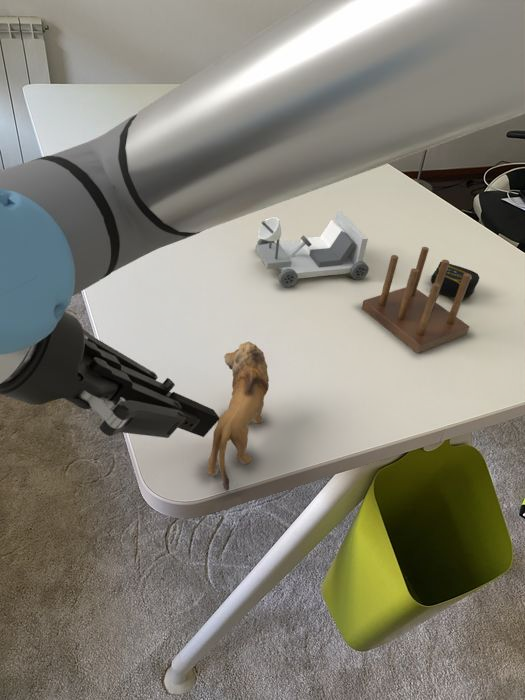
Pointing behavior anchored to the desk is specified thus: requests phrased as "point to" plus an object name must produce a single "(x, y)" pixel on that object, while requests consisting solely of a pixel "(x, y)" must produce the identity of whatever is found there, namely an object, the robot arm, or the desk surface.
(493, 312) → the desk surface
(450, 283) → the tape measure
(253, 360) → the lion figurine
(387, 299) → the walnut rack
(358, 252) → the toy car
